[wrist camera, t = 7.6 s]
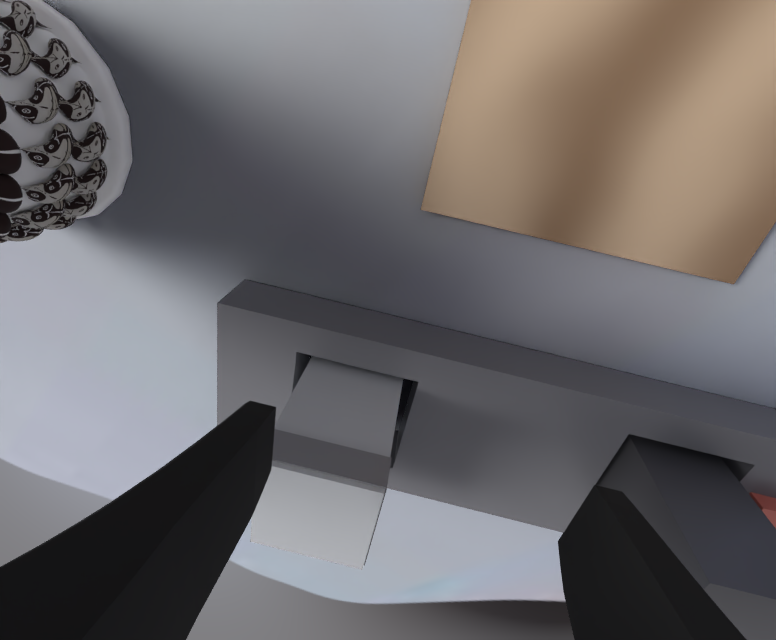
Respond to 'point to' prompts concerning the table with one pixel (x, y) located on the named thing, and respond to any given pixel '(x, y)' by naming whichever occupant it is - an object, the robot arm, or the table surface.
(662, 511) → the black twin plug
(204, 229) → the table surface
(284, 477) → the grey plug
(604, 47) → the cork mat
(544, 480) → the power strip
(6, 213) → the decorative candle
